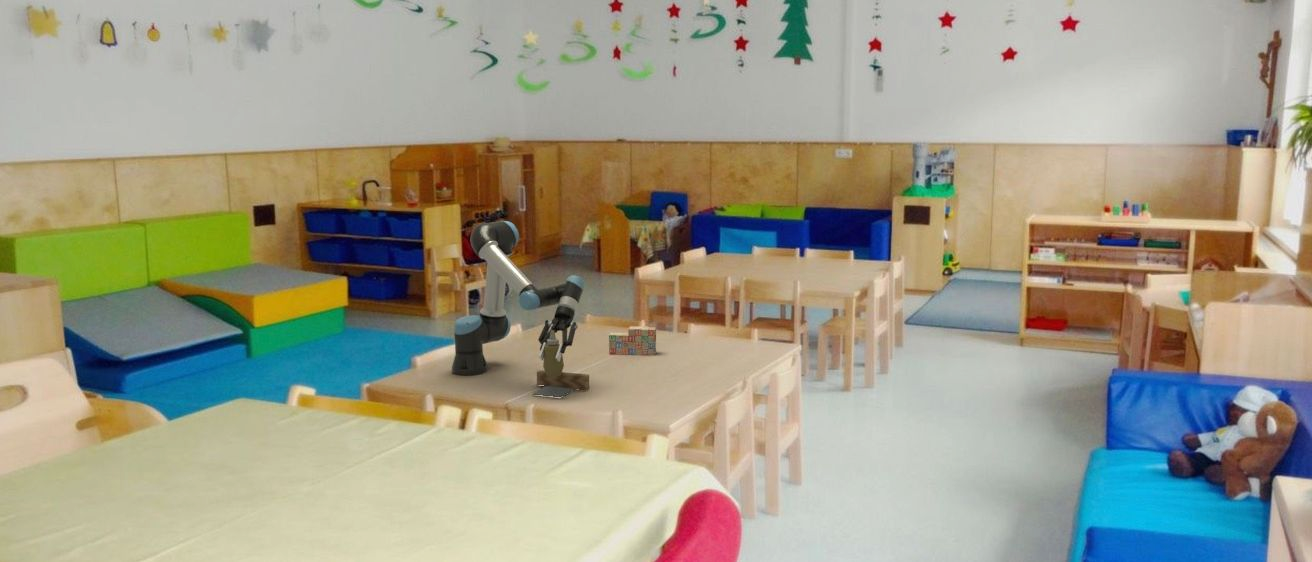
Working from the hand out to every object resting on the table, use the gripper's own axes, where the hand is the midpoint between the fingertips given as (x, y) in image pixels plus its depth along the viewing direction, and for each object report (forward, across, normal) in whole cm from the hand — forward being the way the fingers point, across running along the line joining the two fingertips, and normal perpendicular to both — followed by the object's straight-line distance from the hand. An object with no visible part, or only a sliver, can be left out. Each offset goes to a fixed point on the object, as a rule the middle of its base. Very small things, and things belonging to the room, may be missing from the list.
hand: (549, 358), depth 380 cm
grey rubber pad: (+8, +1, -13) cm, 15 cm away
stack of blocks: (-44, -4, -65) cm, 79 cm away
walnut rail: (+2, +1, -20) cm, 20 cm away
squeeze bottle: (+3, 0, -8) cm, 8 cm away
